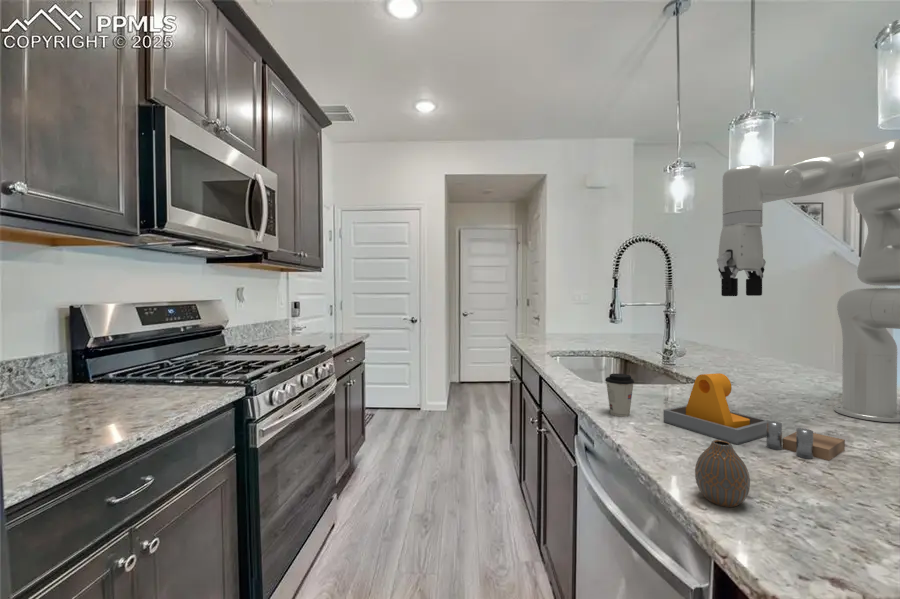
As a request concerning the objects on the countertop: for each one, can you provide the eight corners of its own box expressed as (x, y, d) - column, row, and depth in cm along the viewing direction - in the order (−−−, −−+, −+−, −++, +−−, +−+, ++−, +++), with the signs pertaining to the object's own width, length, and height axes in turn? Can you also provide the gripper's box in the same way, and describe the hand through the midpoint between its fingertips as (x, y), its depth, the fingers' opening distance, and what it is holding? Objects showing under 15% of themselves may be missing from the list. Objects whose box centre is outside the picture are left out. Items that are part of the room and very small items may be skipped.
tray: (696, 414, 104) (696, 403, 104) (771, 434, 89) (771, 421, 89) (663, 422, 98) (663, 409, 98) (737, 444, 84) (737, 430, 83)
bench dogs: (770, 444, 84) (770, 420, 83) (815, 457, 77) (815, 431, 77) (764, 446, 82) (764, 421, 82) (809, 459, 76) (809, 433, 76)
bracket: (752, 432, 89) (752, 377, 89) (724, 435, 88) (724, 379, 88) (711, 417, 100) (711, 368, 100) (685, 419, 98) (685, 370, 98)
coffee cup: (605, 416, 104) (604, 377, 103) (605, 409, 110) (605, 372, 110) (635, 419, 101) (635, 379, 101) (634, 411, 107) (633, 373, 107)
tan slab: (799, 441, 86) (799, 429, 86) (844, 452, 80) (844, 439, 80) (782, 451, 81) (782, 438, 81) (828, 463, 75) (828, 449, 75)
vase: (684, 490, 65) (684, 435, 65) (725, 488, 65) (725, 433, 65) (717, 513, 58) (716, 452, 58) (762, 511, 58) (762, 450, 58)
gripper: (745, 226, 102) (745, 295, 102) (702, 221, 94) (702, 296, 94) (781, 221, 95) (781, 295, 95) (737, 216, 87) (737, 296, 87)
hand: (742, 295), depth 95 cm, fingers open, 9 cm apart
